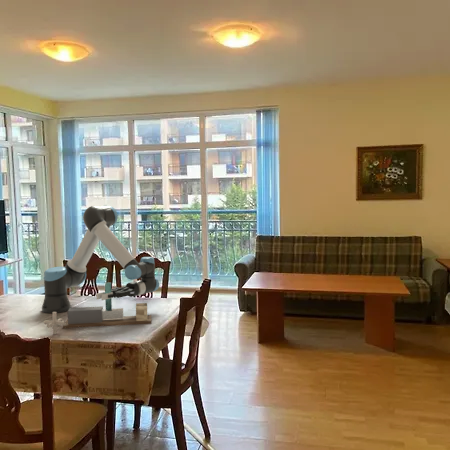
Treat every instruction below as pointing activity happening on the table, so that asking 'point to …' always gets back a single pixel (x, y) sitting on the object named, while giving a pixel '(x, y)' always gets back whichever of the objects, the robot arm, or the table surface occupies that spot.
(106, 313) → the bar with teal cylinder
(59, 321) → the pipe connector
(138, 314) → the socket block
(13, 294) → the table surface
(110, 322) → the base board
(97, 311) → the outer sleeve
